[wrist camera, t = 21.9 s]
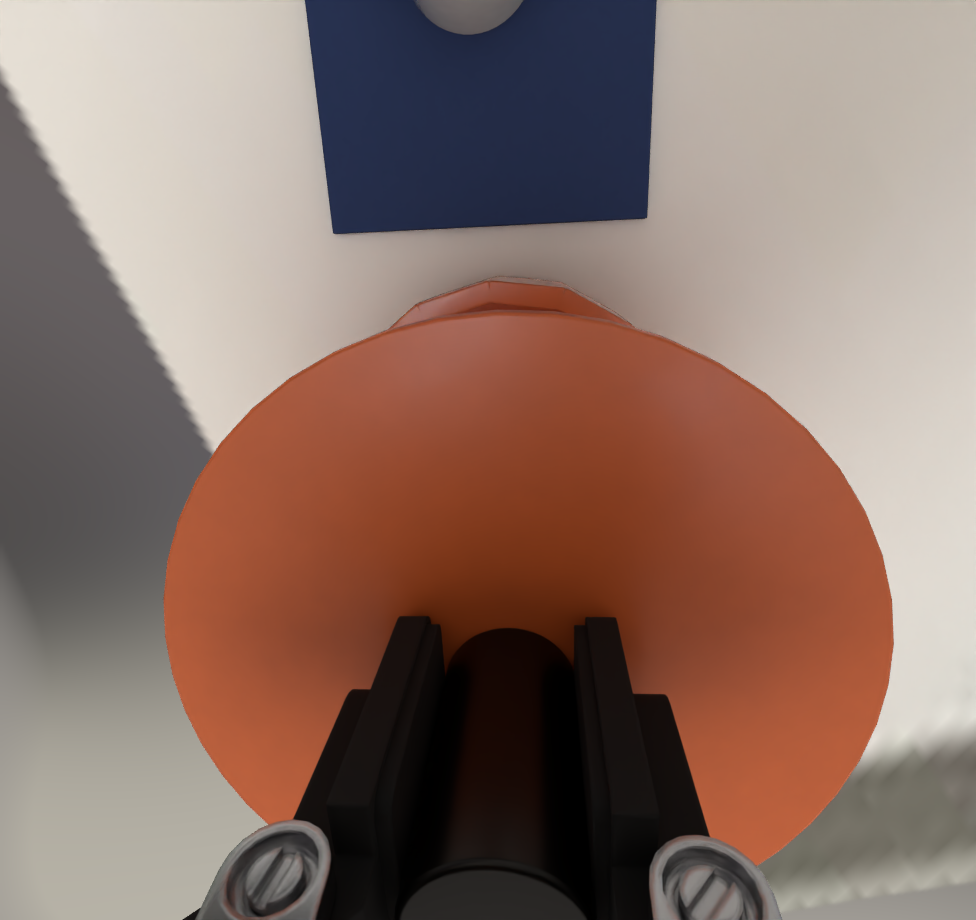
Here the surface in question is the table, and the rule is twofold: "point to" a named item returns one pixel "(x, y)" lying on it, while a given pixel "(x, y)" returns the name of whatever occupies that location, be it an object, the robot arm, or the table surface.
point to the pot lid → (530, 589)
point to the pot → (510, 300)
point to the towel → (483, 114)
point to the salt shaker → (468, 14)
